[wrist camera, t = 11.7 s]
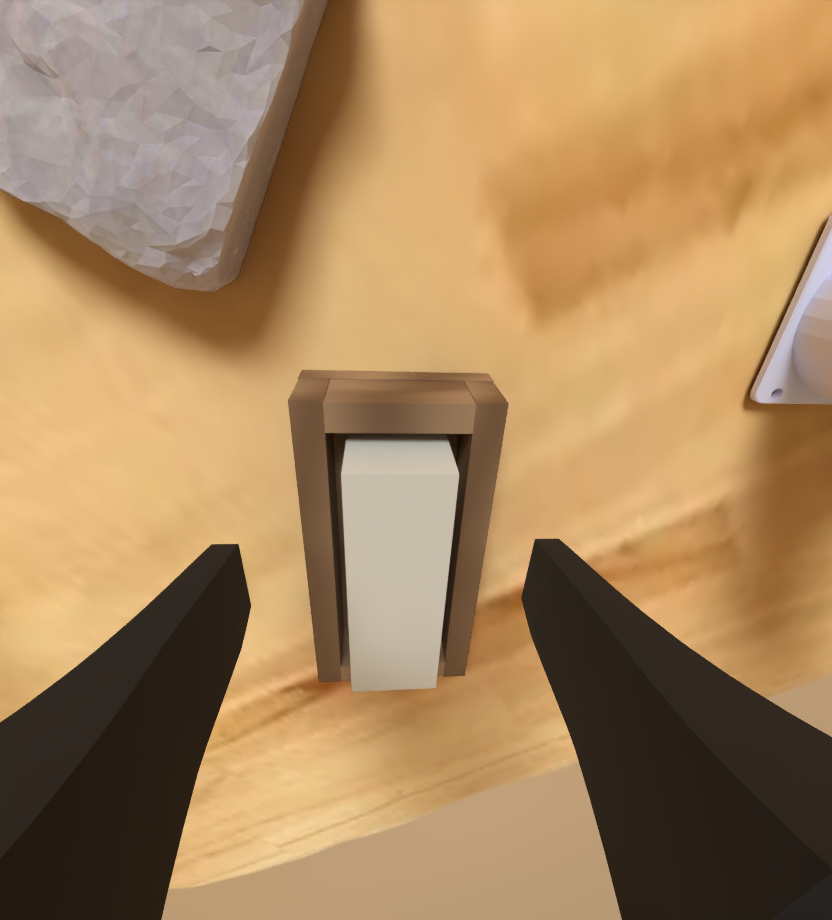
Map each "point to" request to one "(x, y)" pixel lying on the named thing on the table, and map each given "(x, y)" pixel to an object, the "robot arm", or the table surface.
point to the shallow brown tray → (320, 489)
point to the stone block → (152, 122)
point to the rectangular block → (397, 555)
